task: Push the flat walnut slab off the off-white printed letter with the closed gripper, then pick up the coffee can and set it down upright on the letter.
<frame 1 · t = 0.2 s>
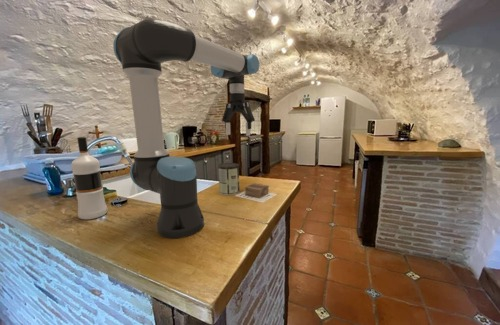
hand: (237, 135, 115), 28 cm above the worktop, fingers open, 13 cm apart
walnut block: (256, 194, 105), resting on letter
vodka: (93, 215, 84), on the worktop
coffee can: (229, 192, 110), on the worktop
letter: (255, 195, 104), on the worktop
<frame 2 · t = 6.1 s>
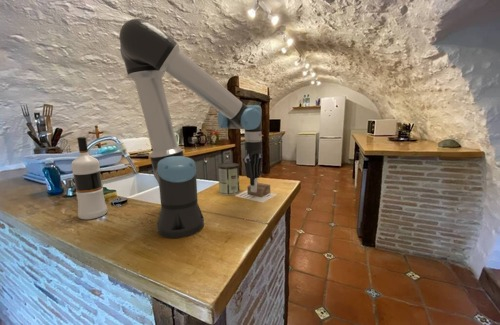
hand: (253, 191, 102), 3 cm above the worktop, fingers closed
walnut block: (258, 193, 106), resting on letter, touching gripper
everything else where it was.
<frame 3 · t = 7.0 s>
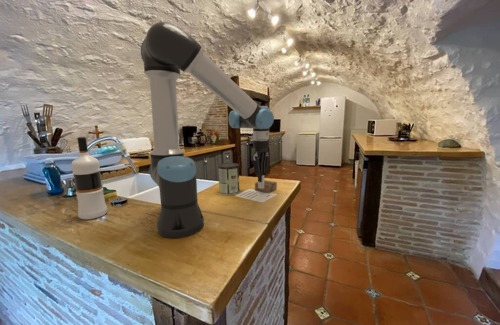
hand: (261, 187, 107), 3 cm above the worktop, fingers closed
walnut block: (265, 190, 112), on the worktop, touching gripper, letter
everything else where it was.
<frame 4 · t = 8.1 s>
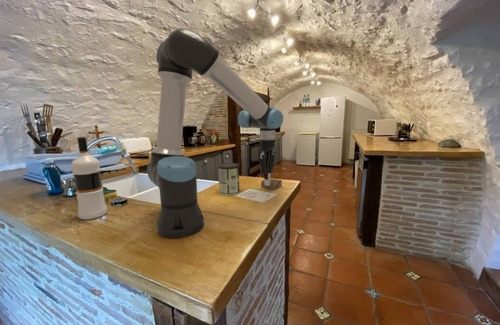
hand: (267, 185, 112), 3 cm above the worktop, fingers closed
walnut block: (271, 187, 117), on the worktop
everything else where it was.
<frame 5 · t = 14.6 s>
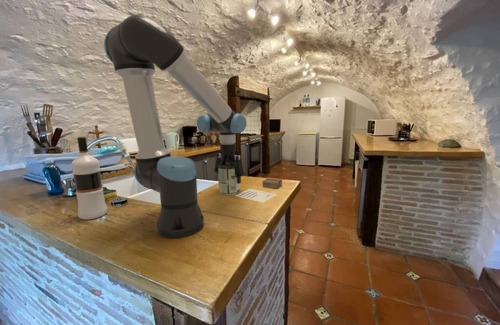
hand: (229, 187, 109), 2 cm above the worktop, fingers closed on coffee can, 10 cm apart
walnut block: (272, 187, 118), on the worktop
coffee can: (229, 192, 110), on the worktop, touching gripper
everything else where it was.
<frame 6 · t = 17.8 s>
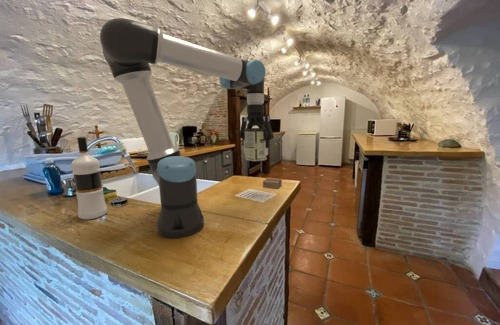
hand: (255, 154, 100), 20 cm above the worktop, fingers closed on coffee can, 10 cm apart
coffee can: (255, 159, 101), point 18 cm above the worktop, touching gripper
everything else where it was.
when the fingers open (4 cm above the worktop, at t = 21.1 s): coffee can drops 1 cm, resting on letter.
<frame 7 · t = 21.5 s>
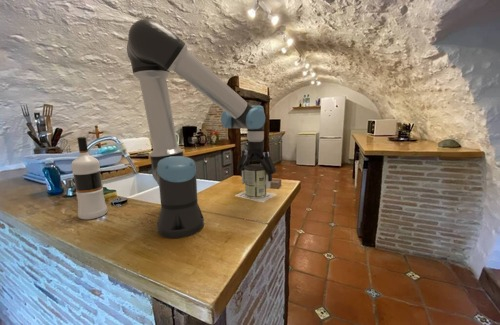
hand: (255, 185, 103), 5 cm above the worktop, fingers open, 13 cm apart
coffee can: (255, 195, 104), resting on letter
everything else where it was.
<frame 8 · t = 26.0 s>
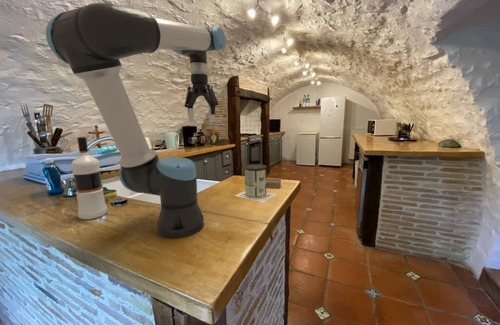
hand: (201, 122, 103), 35 cm above the worktop, fingers open, 13 cm apart
nothing on the worktop moved.
at the end: coffee can inside the target area on the letter (0.1 cm from its centre), point 0.1 cm above the letter's base; coffee can tilted 0°; walnut block inside the target area (4.0 cm from its centre), on the worktop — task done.
